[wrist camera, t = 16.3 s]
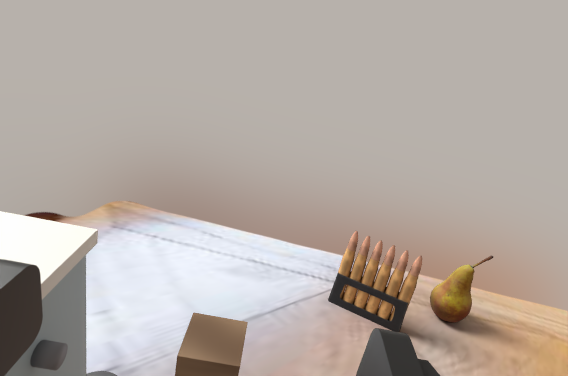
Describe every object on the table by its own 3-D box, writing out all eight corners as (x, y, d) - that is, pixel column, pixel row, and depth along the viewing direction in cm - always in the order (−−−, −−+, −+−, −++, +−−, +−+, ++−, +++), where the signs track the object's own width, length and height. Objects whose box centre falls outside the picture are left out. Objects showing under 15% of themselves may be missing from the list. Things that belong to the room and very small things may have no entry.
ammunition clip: (327, 300, 56) (348, 231, 51) (331, 294, 57) (352, 226, 53) (398, 333, 52) (427, 261, 48) (400, 325, 54) (429, 255, 49)
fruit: (438, 299, 62) (465, 237, 57) (469, 323, 58) (501, 257, 53) (417, 308, 58) (444, 242, 54) (449, 334, 54) (482, 265, 50)
